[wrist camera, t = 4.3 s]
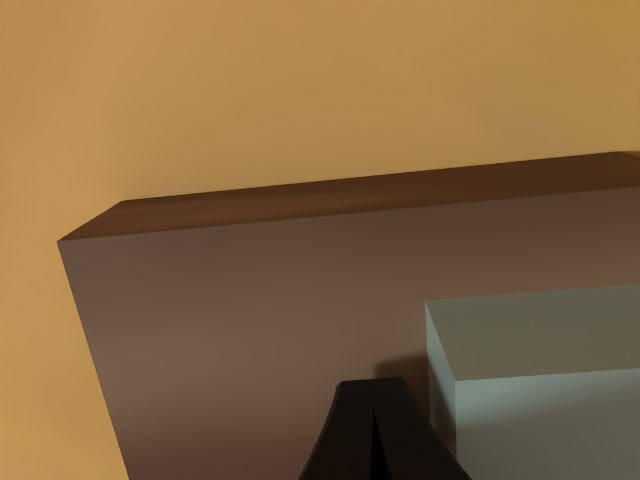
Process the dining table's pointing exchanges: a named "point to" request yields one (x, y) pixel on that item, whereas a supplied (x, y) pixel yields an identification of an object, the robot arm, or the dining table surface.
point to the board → (318, 295)
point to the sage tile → (538, 383)
